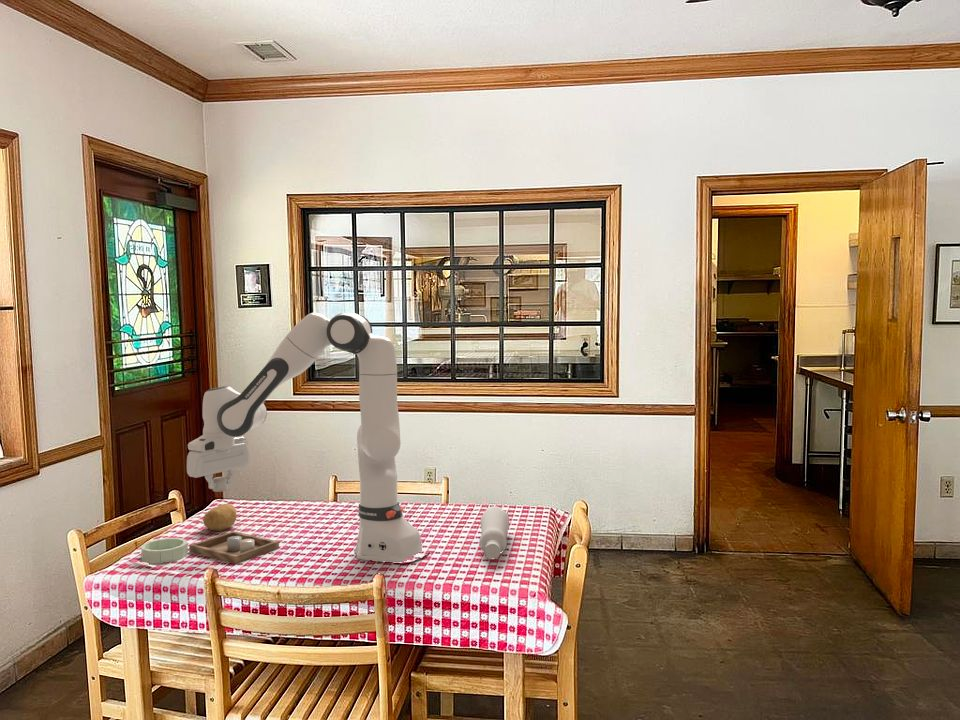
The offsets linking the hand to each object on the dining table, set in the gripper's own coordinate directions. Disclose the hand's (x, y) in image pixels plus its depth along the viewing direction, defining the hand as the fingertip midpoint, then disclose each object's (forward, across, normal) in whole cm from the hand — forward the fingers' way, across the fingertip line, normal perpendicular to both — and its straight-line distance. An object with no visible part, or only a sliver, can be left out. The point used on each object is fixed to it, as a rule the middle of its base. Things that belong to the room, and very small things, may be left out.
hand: (220, 486), depth 211 cm
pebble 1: (+1, 0, 0) cm, 1 cm away
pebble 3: (+18, 0, +11) cm, 21 cm away
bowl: (+19, +14, -7) cm, 25 cm away
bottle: (+20, -43, +69) cm, 84 cm away
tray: (+19, 0, +6) cm, 20 cm away
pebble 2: (+18, 0, +6) cm, 19 cm away
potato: (+19, -13, -16) cm, 28 cm away
